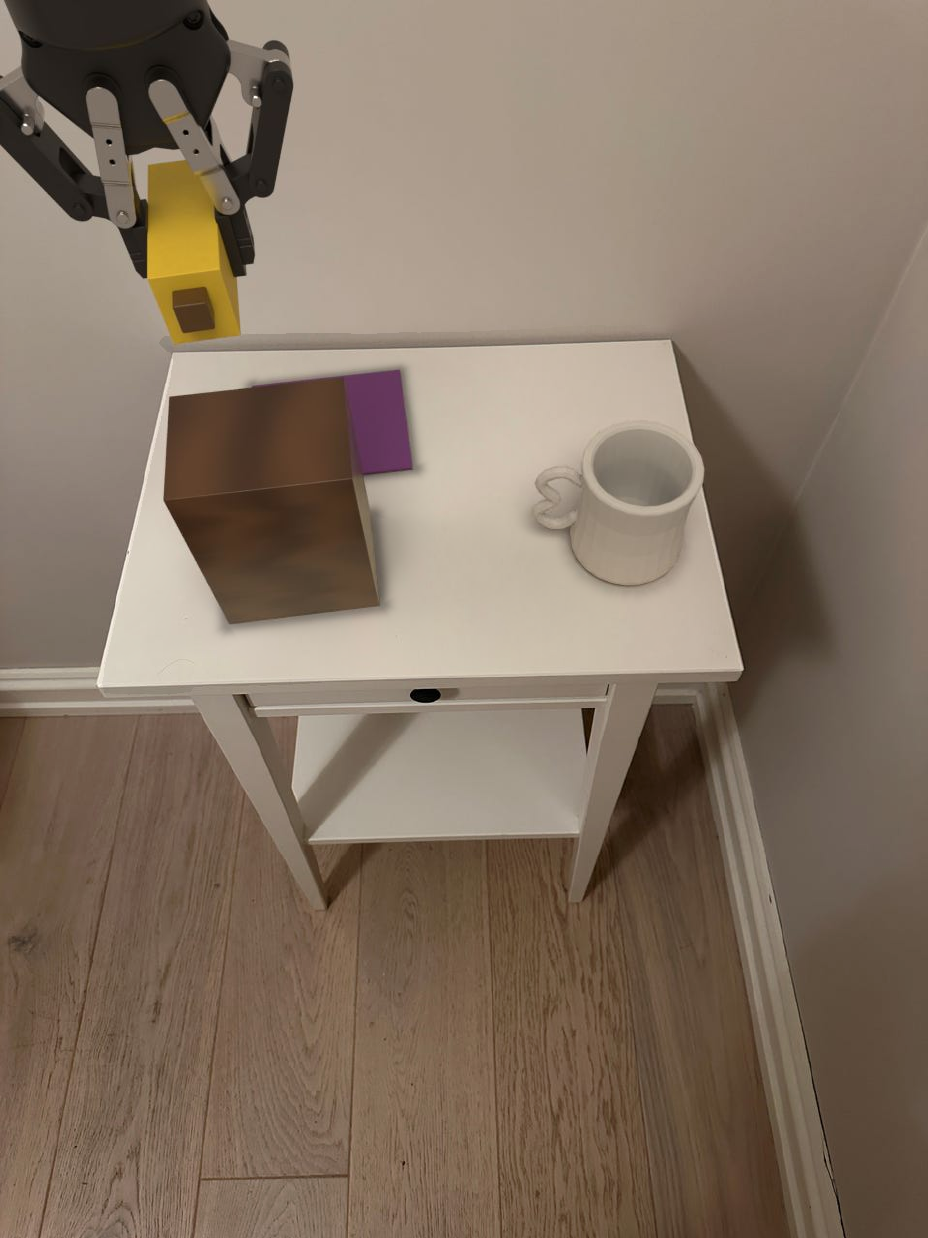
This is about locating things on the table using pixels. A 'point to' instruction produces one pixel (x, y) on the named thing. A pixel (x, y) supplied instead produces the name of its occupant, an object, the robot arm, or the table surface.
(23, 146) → the robot arm
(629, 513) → the mug
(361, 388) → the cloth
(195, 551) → the block
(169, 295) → the yellow brick
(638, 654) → the table surface
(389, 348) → the table surface
